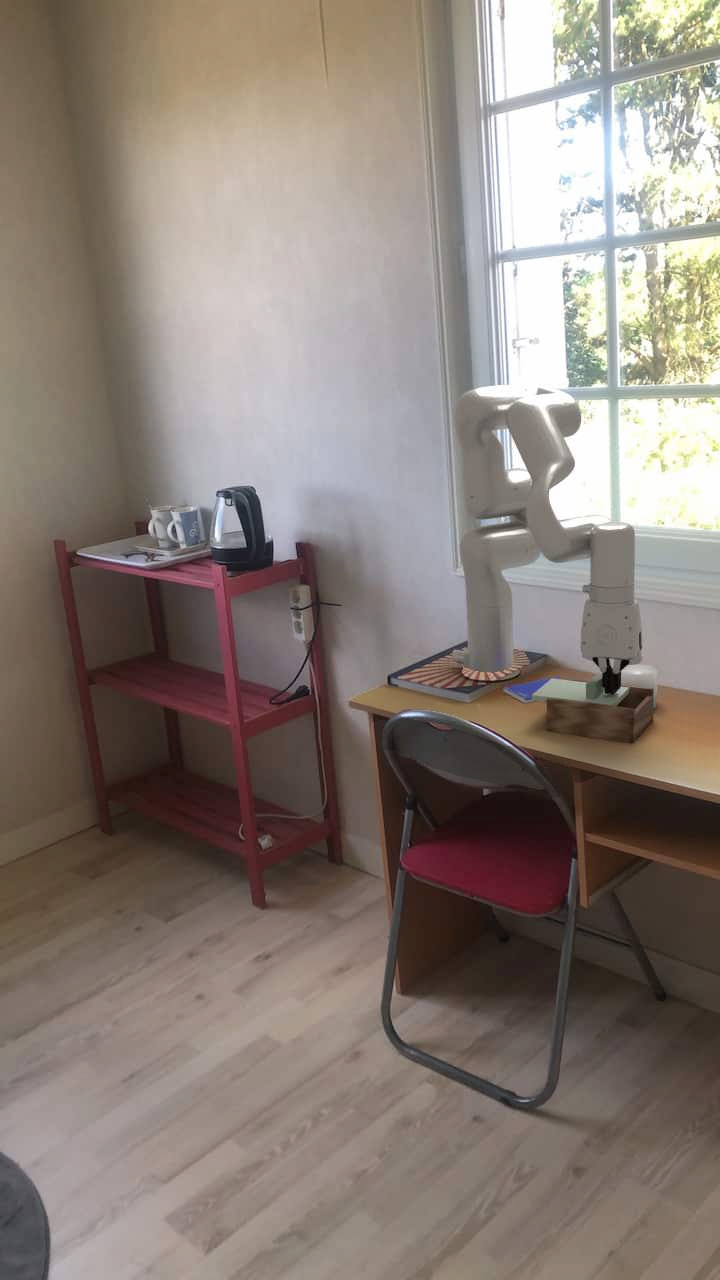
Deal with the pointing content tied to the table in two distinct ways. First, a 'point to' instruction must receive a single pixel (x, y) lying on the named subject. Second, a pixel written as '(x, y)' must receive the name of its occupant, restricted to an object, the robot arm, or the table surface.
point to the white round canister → (640, 678)
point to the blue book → (526, 690)
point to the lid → (580, 691)
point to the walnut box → (603, 716)
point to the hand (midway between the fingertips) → (611, 691)
